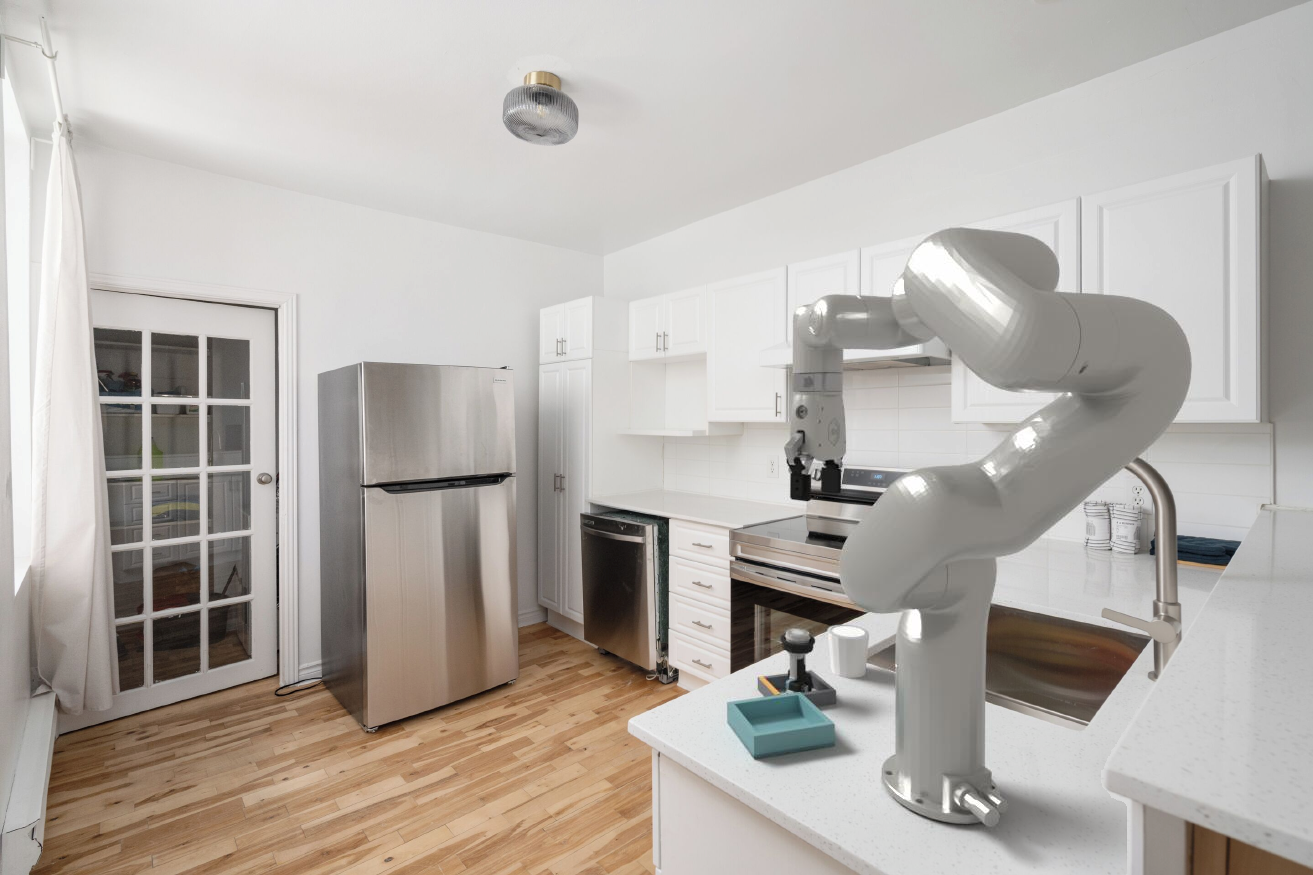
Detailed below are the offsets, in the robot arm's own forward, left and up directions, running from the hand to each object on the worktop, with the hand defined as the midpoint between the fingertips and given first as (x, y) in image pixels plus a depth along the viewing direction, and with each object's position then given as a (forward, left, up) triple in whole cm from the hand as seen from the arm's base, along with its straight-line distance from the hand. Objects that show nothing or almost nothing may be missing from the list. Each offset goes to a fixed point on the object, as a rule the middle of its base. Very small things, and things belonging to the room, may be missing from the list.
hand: (816, 496), depth 94 cm
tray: (-9, +11, -32) cm, 34 cm away
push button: (+1, +3, -32) cm, 32 cm away
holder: (+1, +3, -32) cm, 32 cm away
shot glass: (+7, -10, -32) cm, 34 cm away
